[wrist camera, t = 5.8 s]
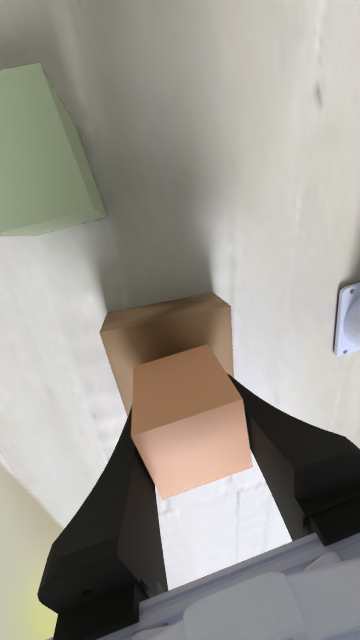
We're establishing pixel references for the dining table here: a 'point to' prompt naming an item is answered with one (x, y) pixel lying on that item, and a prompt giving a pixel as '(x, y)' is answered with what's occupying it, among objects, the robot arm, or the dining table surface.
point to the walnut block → (165, 335)
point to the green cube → (41, 159)
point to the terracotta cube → (188, 421)
